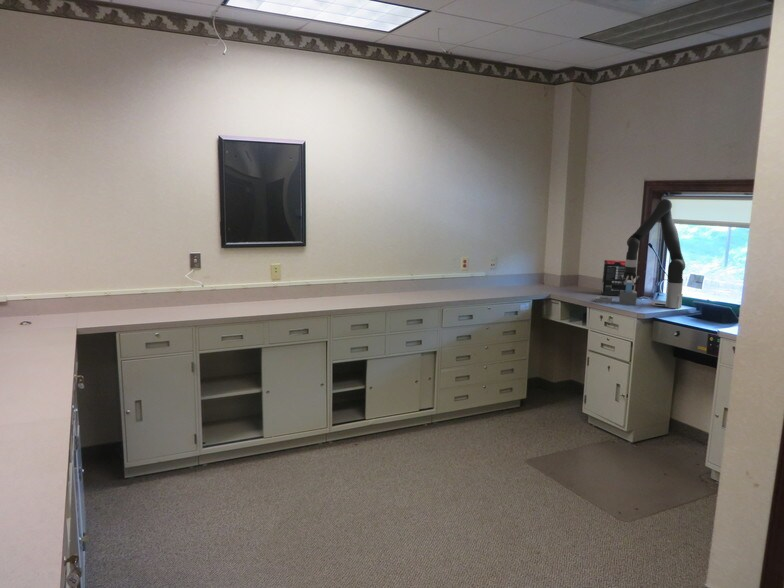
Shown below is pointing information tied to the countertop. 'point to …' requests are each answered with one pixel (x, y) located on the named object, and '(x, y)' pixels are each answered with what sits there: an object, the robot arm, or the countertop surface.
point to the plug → (628, 287)
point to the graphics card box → (613, 277)
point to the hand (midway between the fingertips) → (628, 289)
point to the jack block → (621, 298)
